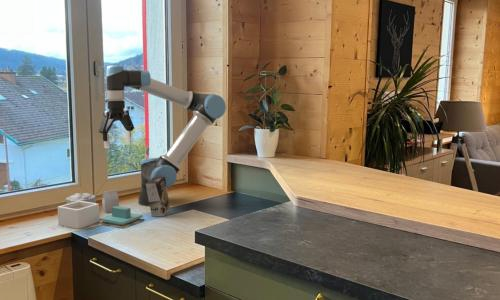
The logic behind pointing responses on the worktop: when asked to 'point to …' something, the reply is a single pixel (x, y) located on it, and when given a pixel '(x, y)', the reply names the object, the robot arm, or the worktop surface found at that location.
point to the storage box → (78, 214)
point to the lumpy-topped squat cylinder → (81, 198)
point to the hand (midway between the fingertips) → (117, 146)
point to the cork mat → (121, 225)
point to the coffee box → (158, 196)
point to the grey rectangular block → (109, 200)
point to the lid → (121, 216)
